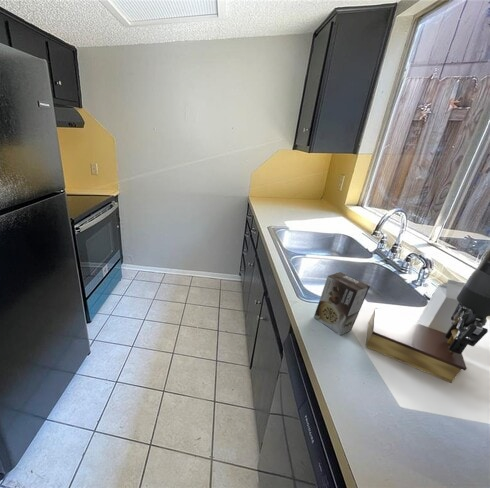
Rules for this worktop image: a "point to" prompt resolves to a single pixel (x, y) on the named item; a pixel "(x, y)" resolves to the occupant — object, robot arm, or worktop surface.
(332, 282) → the coffee box
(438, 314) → the milk carton
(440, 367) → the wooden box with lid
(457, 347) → the robot arm
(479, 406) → the worktop surface
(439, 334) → the cover
